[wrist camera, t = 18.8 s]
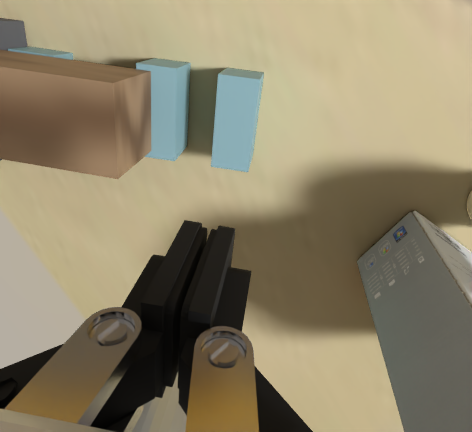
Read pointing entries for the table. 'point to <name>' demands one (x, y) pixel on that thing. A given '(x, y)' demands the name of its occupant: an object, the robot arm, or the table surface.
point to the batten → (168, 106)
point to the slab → (73, 114)
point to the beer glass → (469, 205)
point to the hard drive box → (423, 322)
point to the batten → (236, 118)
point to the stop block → (12, 34)
